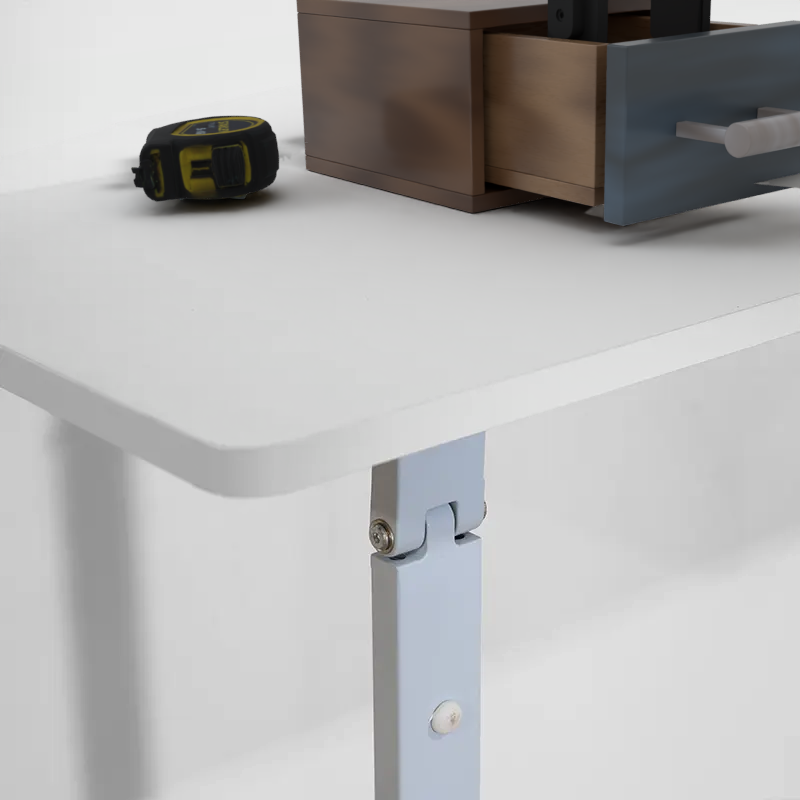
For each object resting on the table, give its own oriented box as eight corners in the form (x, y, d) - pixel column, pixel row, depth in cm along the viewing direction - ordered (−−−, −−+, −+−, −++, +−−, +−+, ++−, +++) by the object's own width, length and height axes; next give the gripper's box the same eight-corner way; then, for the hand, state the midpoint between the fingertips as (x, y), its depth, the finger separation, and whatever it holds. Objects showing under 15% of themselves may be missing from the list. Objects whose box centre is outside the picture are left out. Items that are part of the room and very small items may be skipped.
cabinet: (664, 174, 72) (670, -10, 68) (472, 213, 65) (469, 11, 62) (485, 139, 83) (483, -20, 80) (305, 169, 76) (295, -4, 73)
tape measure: (152, 188, 73) (144, 116, 72) (283, 181, 73) (278, 110, 72) (136, 217, 66) (128, 139, 65) (280, 210, 67) (274, 132, 65)
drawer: (881, 200, 61) (896, 27, 58) (698, 245, 54) (707, 54, 52) (599, 148, 74) (601, 6, 72) (428, 179, 68) (423, 25, 65)
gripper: (539, -446, 49) (540, 76, 55) (849, -408, 58) (820, 36, 65) (413, -407, 55) (427, 62, 61) (713, -379, 64) (699, 26, 70)
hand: (629, 44), depth 63 cm, fingers open, 5 cm apart
